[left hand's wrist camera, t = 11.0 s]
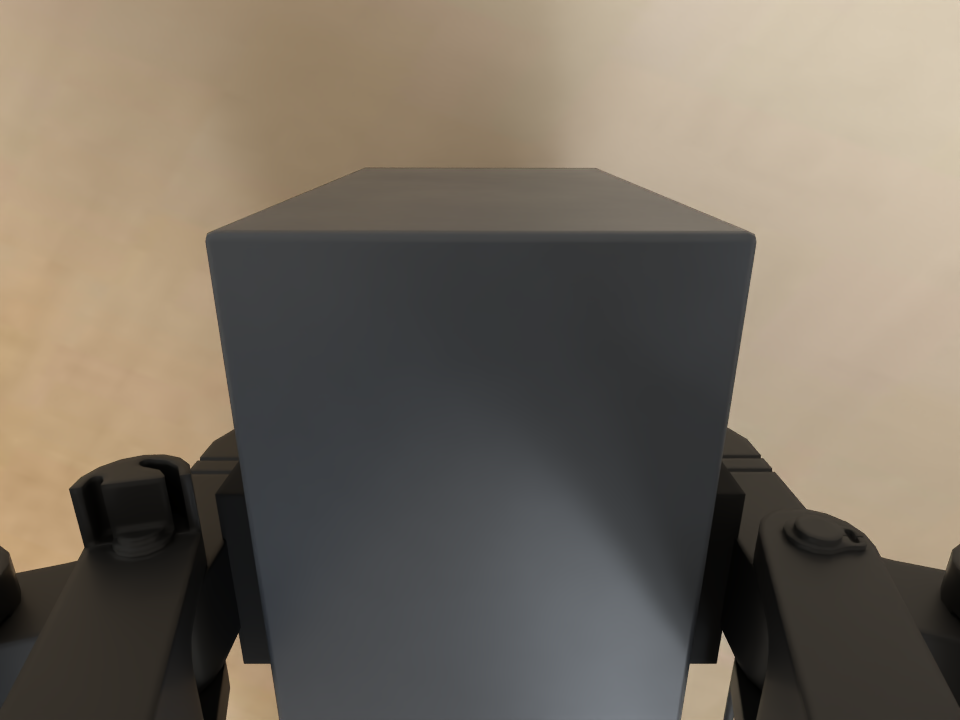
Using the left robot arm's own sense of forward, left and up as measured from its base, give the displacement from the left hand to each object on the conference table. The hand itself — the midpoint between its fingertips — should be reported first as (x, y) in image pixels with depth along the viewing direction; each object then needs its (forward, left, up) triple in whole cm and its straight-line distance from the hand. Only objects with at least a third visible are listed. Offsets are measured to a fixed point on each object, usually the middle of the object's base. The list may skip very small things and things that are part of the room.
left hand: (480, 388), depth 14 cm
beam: (+11, +33, -1) cm, 35 cm away
